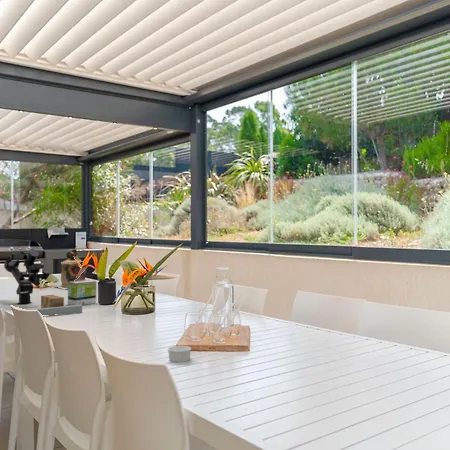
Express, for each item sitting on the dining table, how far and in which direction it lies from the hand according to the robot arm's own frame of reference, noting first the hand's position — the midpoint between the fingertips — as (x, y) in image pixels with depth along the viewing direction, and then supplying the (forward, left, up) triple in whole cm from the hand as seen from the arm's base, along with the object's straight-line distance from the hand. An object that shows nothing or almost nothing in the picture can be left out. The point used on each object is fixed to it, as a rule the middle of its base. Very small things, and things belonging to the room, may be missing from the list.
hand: (38, 286), depth 297 cm
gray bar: (+28, -14, -13) cm, 35 cm away
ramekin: (+132, -72, -13) cm, 151 cm away
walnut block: (+19, -9, -13) cm, 25 cm away
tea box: (+17, +20, -13) cm, 30 cm away
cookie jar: (-40, +85, -13) cm, 95 cm away
